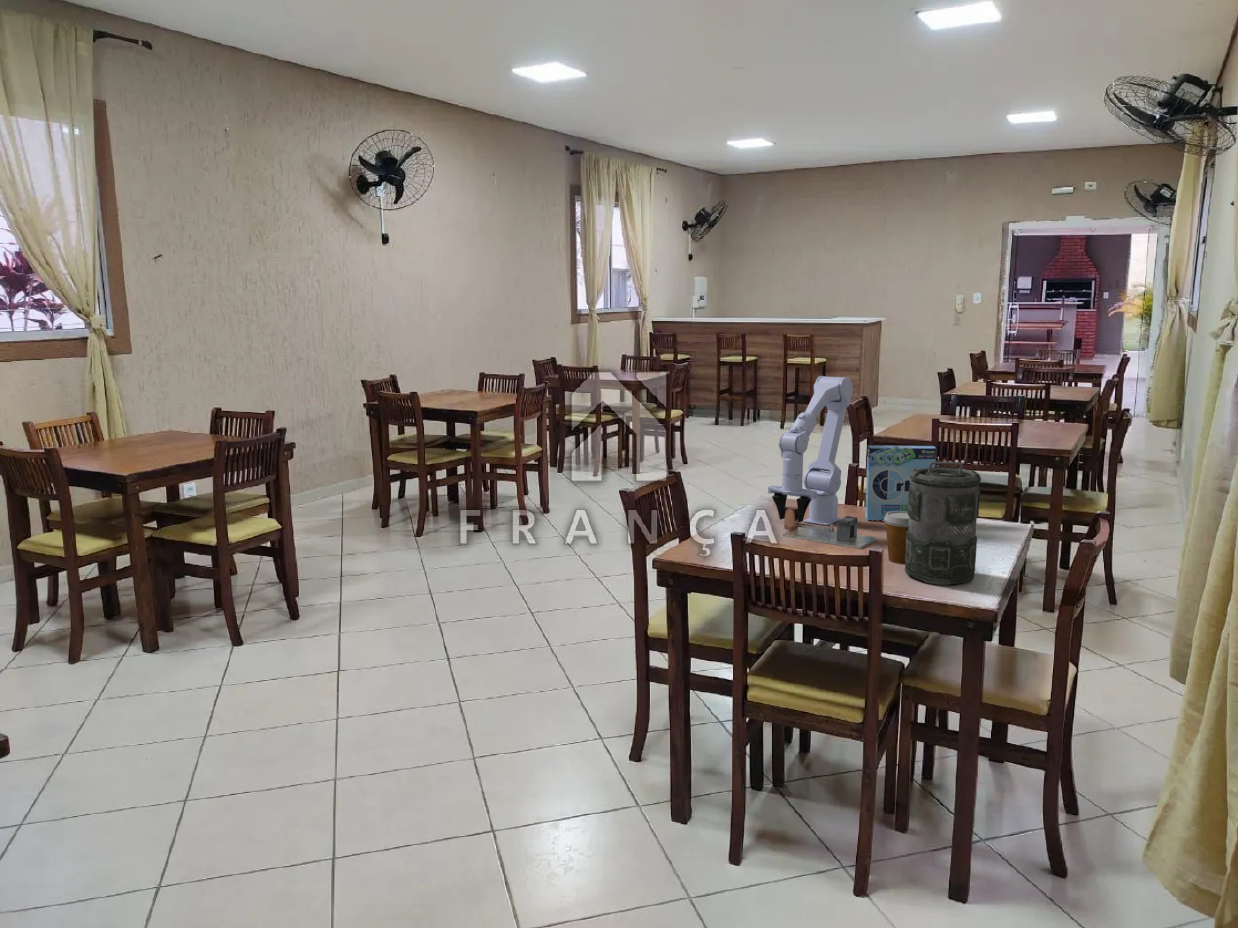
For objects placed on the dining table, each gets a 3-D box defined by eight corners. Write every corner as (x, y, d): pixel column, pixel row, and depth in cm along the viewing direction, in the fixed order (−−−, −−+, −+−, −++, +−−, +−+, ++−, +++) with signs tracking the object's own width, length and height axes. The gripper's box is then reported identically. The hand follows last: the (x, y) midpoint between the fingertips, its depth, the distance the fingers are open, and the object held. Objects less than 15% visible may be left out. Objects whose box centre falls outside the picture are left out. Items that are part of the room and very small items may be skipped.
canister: (909, 584, 199) (915, 467, 194) (900, 565, 215) (905, 455, 210) (981, 588, 196) (989, 468, 192) (966, 568, 212) (973, 457, 207)
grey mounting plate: (801, 527, 253) (802, 507, 252) (877, 539, 239) (878, 518, 238) (783, 536, 244) (783, 515, 242) (860, 548, 230) (861, 526, 229)
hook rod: (781, 528, 248) (782, 508, 247) (788, 526, 251) (788, 505, 250) (830, 536, 239) (831, 515, 238) (836, 533, 242) (836, 512, 241)
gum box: (929, 519, 262) (933, 445, 258) (933, 523, 257) (937, 448, 253) (864, 517, 265) (867, 444, 261) (866, 521, 260) (869, 447, 256)
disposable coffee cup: (920, 556, 222) (923, 511, 220) (920, 567, 213) (923, 520, 211) (882, 553, 225) (884, 509, 223) (881, 563, 216) (883, 517, 214)
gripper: (763, 473, 247) (762, 519, 249) (809, 479, 238) (808, 526, 240) (774, 469, 252) (773, 514, 255) (820, 475, 244) (819, 521, 246)
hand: (791, 520), depth 248 cm, fingers open, 5 cm apart
